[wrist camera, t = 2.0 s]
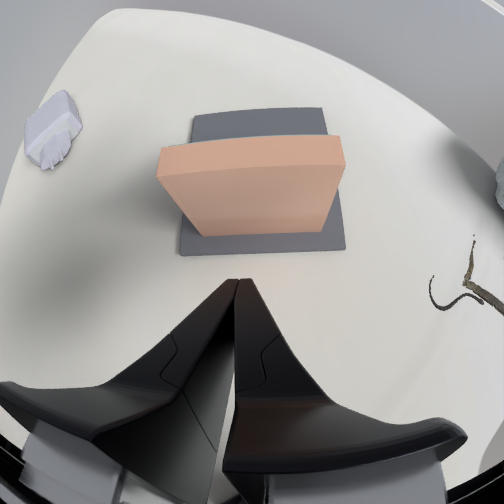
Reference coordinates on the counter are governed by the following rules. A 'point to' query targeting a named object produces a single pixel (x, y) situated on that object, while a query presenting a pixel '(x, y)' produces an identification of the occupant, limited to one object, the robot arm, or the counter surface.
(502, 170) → the device
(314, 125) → the mat
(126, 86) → the counter surface
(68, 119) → the charger
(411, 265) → the counter surface
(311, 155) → the tile
